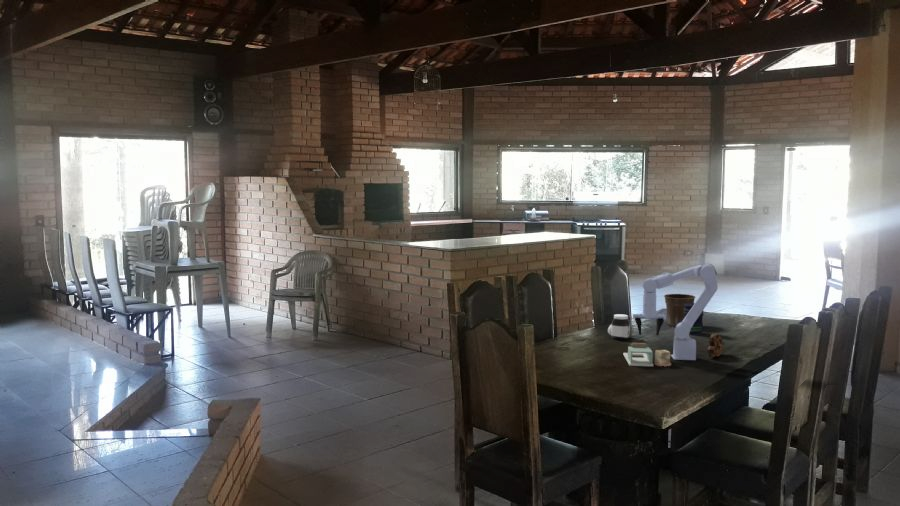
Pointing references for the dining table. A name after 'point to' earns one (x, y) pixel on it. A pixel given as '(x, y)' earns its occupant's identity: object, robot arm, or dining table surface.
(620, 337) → the spread jar
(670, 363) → the coaster
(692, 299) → the plant pot
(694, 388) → the dining table surface
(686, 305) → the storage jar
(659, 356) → the block
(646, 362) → the board
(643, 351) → the pale green open box
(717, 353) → the wooden carving
